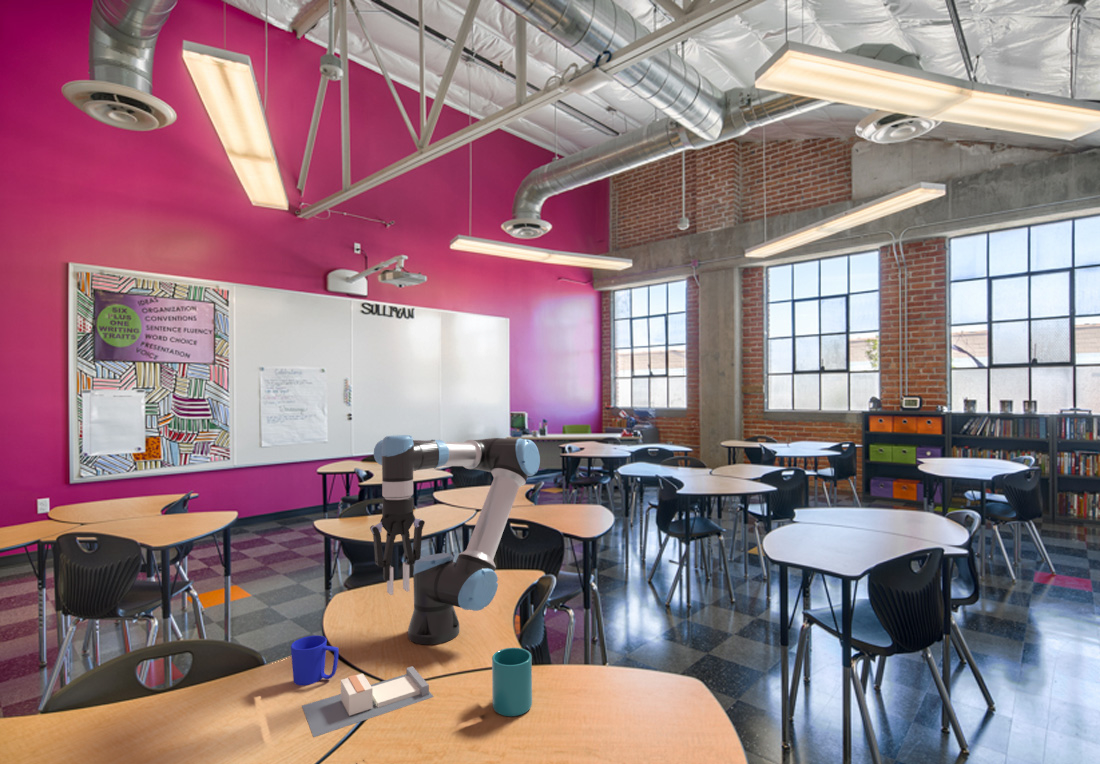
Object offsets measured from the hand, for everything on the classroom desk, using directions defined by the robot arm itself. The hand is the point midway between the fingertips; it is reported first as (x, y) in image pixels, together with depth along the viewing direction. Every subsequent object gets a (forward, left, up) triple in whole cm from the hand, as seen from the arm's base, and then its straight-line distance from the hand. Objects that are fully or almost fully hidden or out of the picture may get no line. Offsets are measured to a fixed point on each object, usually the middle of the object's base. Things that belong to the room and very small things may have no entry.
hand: (398, 591), depth 134 cm
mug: (+17, -12, -23) cm, 31 cm away
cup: (-19, +24, -23) cm, 38 cm away
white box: (+12, +6, -21) cm, 25 cm away
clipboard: (+9, +6, -23) cm, 25 cm away
